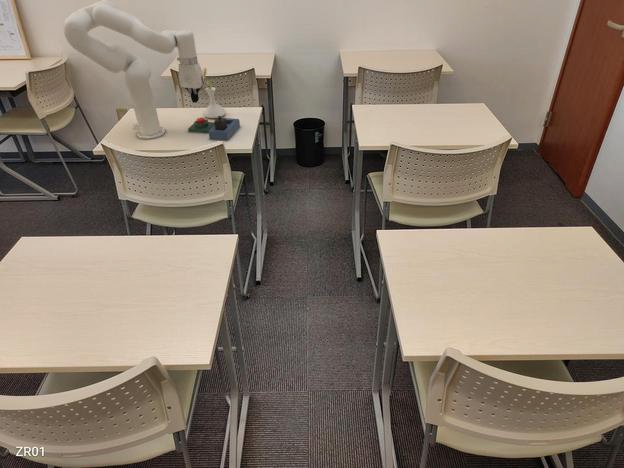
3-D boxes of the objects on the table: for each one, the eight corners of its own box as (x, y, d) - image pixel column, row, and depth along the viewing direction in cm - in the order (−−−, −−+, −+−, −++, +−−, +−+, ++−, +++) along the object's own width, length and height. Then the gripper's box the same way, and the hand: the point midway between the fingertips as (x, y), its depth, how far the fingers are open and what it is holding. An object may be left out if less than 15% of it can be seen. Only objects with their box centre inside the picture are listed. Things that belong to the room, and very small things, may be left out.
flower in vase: (206, 111, 247) (197, 62, 232) (228, 111, 246) (220, 61, 231) (200, 122, 236) (190, 70, 221) (223, 121, 235) (215, 70, 221)
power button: (196, 123, 226) (195, 120, 225) (199, 120, 229) (198, 117, 228) (203, 124, 226) (202, 120, 225) (206, 121, 228) (205, 117, 227)
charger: (216, 137, 220) (213, 117, 215) (220, 134, 223) (216, 114, 218) (225, 138, 219) (221, 118, 214) (228, 134, 223) (225, 114, 217)
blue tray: (209, 139, 219) (208, 131, 217) (223, 125, 231) (221, 117, 229) (227, 140, 217) (226, 132, 215) (240, 126, 229) (239, 118, 227)
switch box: (188, 132, 227) (187, 125, 225) (196, 124, 234) (195, 117, 232) (208, 133, 225) (206, 126, 223) (215, 125, 232) (214, 118, 230)
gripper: (169, 62, 209) (176, 103, 220) (201, 64, 206) (207, 105, 217) (177, 57, 215) (184, 97, 226) (208, 59, 212) (213, 99, 223)
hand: (195, 101), depth 221 cm, fingers closed
